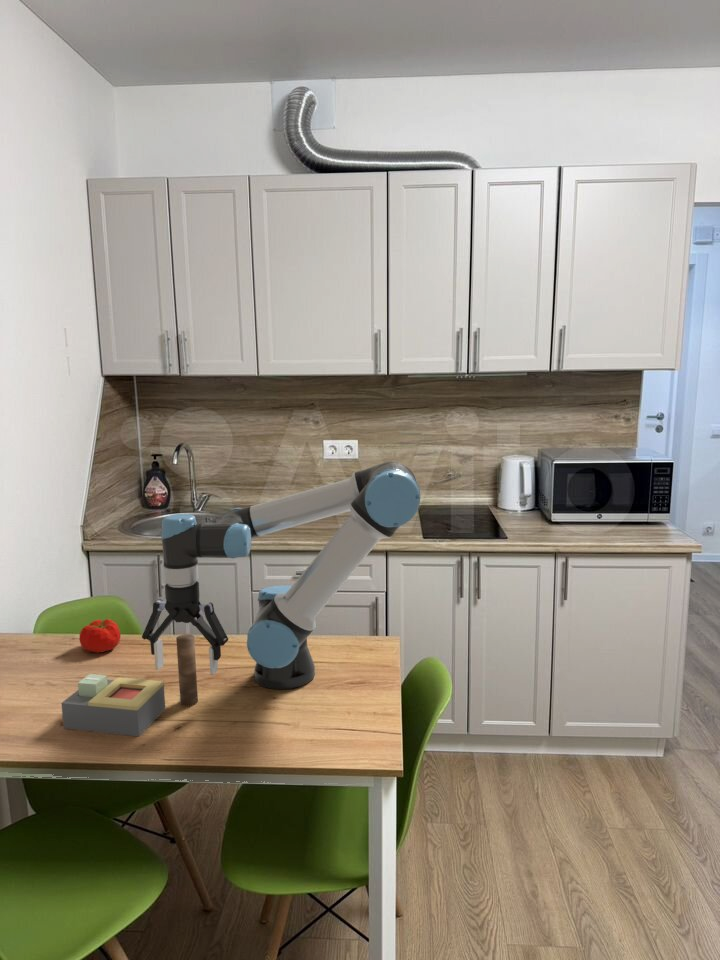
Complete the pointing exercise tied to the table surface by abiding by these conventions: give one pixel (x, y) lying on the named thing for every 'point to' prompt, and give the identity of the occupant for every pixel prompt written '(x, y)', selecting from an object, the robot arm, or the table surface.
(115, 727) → the breaker box
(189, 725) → the table surface
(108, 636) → the tomato
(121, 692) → the plunger
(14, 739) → the table surface
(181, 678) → the rounded rod
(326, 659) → the table surface
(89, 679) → the on button
